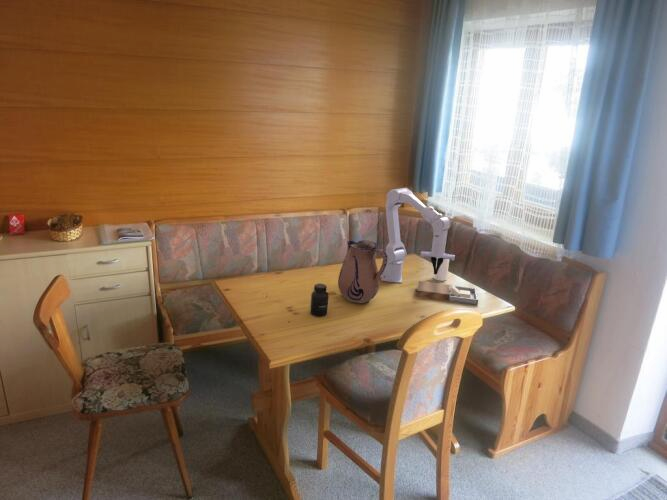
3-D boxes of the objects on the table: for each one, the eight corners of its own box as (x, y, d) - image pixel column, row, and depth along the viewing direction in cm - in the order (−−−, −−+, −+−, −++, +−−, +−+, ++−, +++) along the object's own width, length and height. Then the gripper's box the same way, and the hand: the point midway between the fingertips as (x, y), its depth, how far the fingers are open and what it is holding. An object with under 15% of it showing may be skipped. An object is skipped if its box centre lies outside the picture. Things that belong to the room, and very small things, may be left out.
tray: (449, 301, 211) (449, 296, 210) (448, 290, 224) (449, 285, 223) (477, 305, 209) (478, 299, 208) (475, 293, 222) (476, 288, 221)
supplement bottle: (321, 319, 188) (322, 290, 184) (306, 314, 191) (308, 286, 188) (330, 313, 193) (332, 285, 190) (316, 308, 197) (317, 281, 193)
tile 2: (470, 294, 213) (469, 298, 214) (469, 291, 217) (469, 295, 218) (459, 293, 214) (459, 297, 214) (459, 289, 218) (459, 293, 219)
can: (447, 281, 235) (450, 258, 231) (434, 280, 235) (437, 257, 231) (445, 276, 241) (448, 254, 237) (432, 276, 241) (434, 253, 238)
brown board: (416, 296, 215) (417, 290, 214) (418, 287, 226) (418, 281, 225) (449, 300, 212) (449, 294, 211) (448, 290, 223) (449, 284, 222)
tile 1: (448, 290, 215) (452, 287, 214) (448, 286, 219) (451, 283, 218) (456, 297, 215) (459, 294, 214) (456, 293, 219) (459, 290, 218)
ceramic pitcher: (347, 288, 219) (350, 235, 212) (391, 298, 211) (396, 243, 203) (330, 301, 204) (333, 245, 197) (376, 313, 196) (381, 254, 188)
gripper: (421, 244, 209) (418, 274, 214) (456, 248, 207) (452, 278, 211) (422, 240, 216) (419, 269, 220) (455, 244, 213) (451, 273, 217)
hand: (435, 273), depth 216 cm, fingers closed
